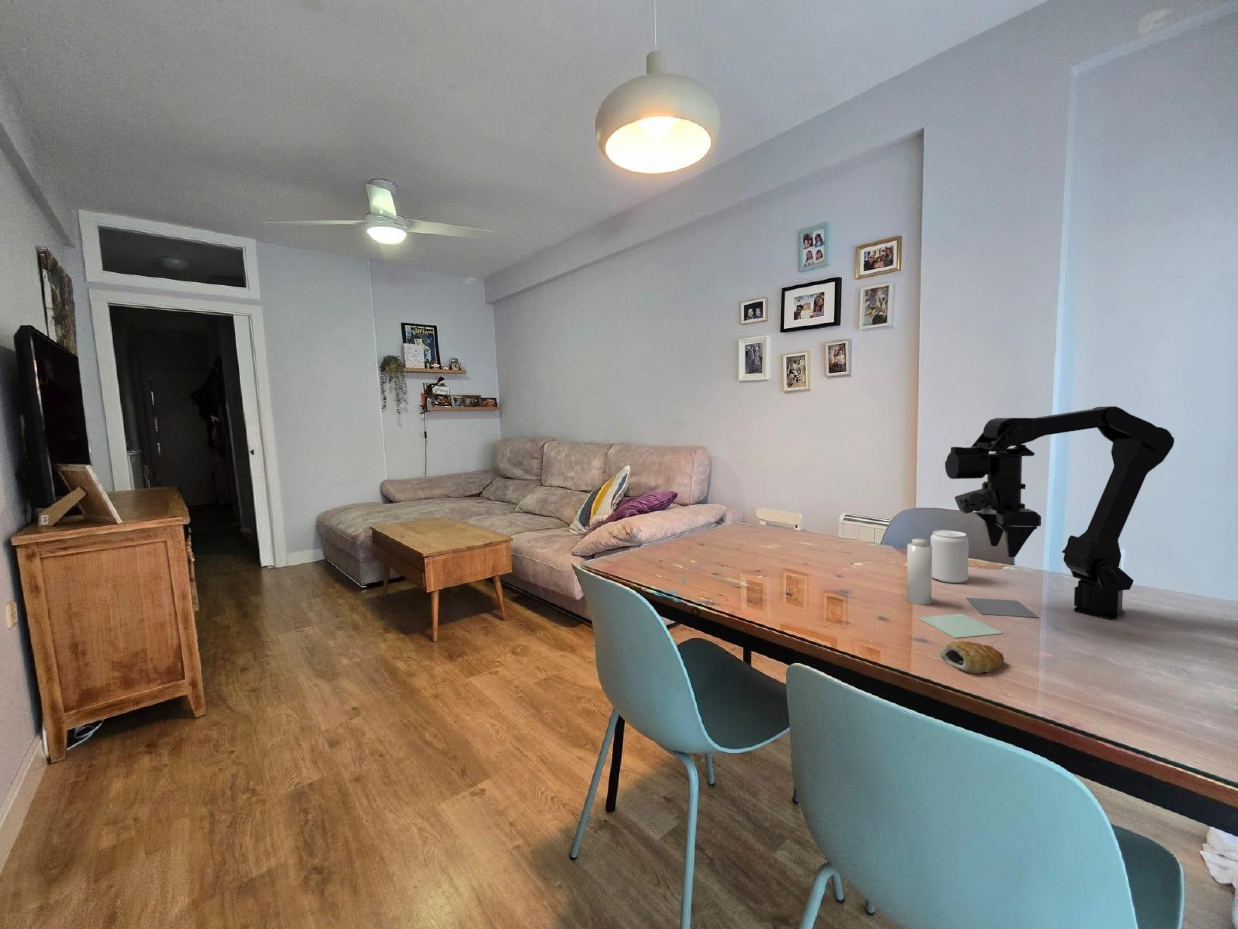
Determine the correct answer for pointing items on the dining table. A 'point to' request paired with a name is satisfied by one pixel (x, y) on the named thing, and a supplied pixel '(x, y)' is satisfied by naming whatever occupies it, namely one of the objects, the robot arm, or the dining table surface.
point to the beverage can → (949, 556)
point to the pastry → (972, 657)
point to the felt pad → (1001, 607)
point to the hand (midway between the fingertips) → (1002, 551)
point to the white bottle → (919, 572)
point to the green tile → (959, 626)
